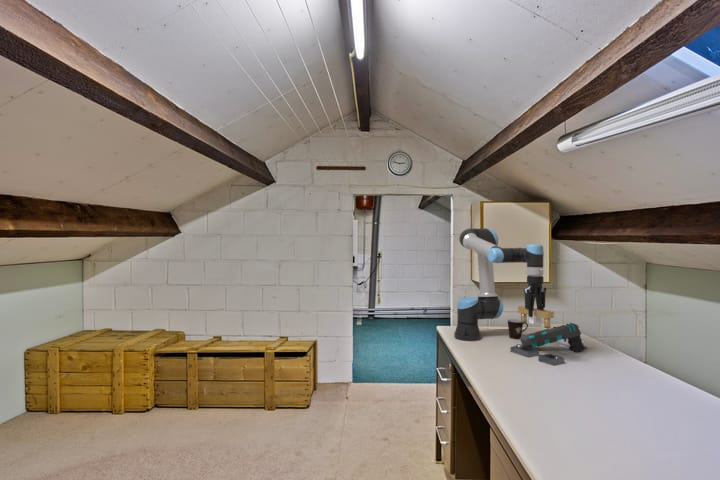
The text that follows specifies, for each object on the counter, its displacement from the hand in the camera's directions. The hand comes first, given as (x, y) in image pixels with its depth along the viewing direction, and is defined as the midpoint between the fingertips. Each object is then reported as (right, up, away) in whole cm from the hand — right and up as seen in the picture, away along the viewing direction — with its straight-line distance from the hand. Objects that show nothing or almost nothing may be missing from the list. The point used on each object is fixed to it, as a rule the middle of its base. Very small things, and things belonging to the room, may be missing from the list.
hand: (535, 322), depth 201 cm
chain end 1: (-2, -17, +7) cm, 19 cm away
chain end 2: (+5, -17, -7) cm, 19 cm away
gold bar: (0, -1, 0) cm, 1 cm away
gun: (+14, -17, +13) cm, 26 cm away
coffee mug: (+6, -17, +38) cm, 42 cm away
